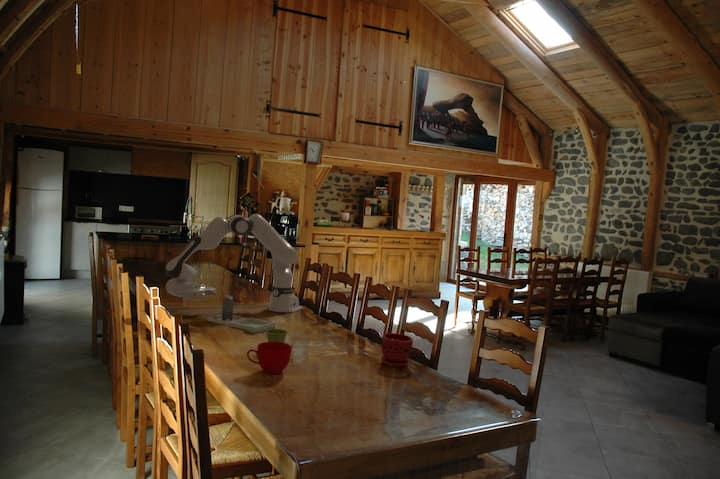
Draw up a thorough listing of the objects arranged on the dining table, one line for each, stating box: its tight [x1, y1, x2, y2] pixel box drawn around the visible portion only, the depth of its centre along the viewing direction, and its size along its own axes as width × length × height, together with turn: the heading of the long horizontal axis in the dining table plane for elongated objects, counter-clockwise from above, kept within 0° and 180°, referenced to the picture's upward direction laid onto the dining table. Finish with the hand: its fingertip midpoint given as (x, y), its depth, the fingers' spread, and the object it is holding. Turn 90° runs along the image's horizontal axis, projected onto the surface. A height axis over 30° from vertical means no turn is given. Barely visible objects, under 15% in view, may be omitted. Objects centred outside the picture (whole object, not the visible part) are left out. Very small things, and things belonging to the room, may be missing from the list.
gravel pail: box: [221, 294, 235, 321], centre depth 283 cm, size 6×6×13 cm
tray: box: [206, 314, 247, 326], centre depth 283 cm, size 14×14×3 cm
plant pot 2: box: [380, 332, 414, 368], centre depth 232 cm, size 13×13×12 cm
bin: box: [229, 317, 276, 335], centre depth 275 cm, size 16×16×3 cm
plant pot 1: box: [265, 328, 289, 343], centre depth 238 cm, size 9×9×9 cm
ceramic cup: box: [246, 341, 293, 375], centre depth 209 cm, size 13×17×10 cm
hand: (210, 294), depth 288 cm, fingers open, 8 cm apart
